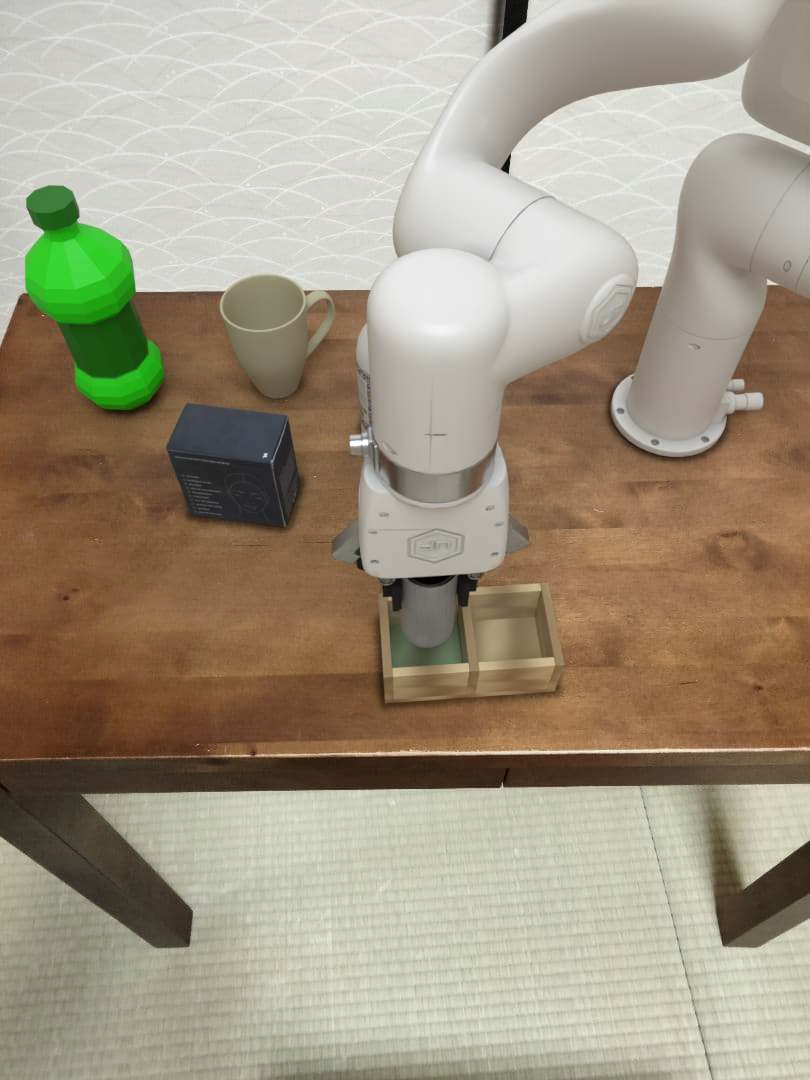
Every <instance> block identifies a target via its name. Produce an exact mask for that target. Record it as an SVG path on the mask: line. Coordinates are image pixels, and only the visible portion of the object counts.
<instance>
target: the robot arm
mask: <svg viewBox="0 0 810 1080" xmlns="http://www.w3.org/2000/svg"><path fill="white" fill-rule="evenodd" d="M747 61H748V63H747V65H746V69H745V72H744V75H743V76H744V77H743V79H742V85H741V91H740V92H741V93H740V95H741V96H740V97H741V103H742V106H743V109H744V110H745V112H746V114H747V115H748V117H750V118H752V119H753V120H754V121H756V123H758V124H760V125H762V126H763V127H765V128H767V129H769V130H771V131H773V132H775V133H777V134H780V135H782V136H784V137H787V138H789V139H791V140H793V141H796V142H798V143H800V144H803V145H806V146H808V147H810V0H558V1H555V2H554V3H553V4H551V5H549V6H548V7H546V8H545V9H543V10H541V11H540V12H538V13H537V14H536V15H534V16H533V17H531V18H530V19H529V20H527V21H526V22H524V23H523V24H522V25H520V26H519V27H518V28H516V30H514V31H513V32H511V33H510V34H508V35H507V36H506V37H505V38H504V39H502V40H501V41H499V42H498V44H496V45H495V46H494V47H492V48H491V49H490V50H489V51H488V52H486V53H485V54H484V55H483V56H482V57H481V58H480V59H479V60H478V61H477V62H476V63H475V64H474V65H473V66H472V67H471V68H470V69H469V71H468V72H467V73H466V74H465V75H464V76H463V78H462V79H461V81H460V82H458V84H457V86H456V87H455V89H454V90H453V92H452V94H451V95H450V96H449V99H448V100H447V102H446V104H445V105H444V107H443V108H442V110H441V113H440V114H439V116H438V118H437V120H436V122H435V124H434V126H433V127H432V129H431V132H430V133H429V135H428V136H427V138H426V140H425V142H424V144H423V145H422V148H421V149H420V151H419V153H418V155H417V157H416V159H415V161H414V162H413V164H412V167H411V169H410V171H409V173H408V174H407V178H406V180H405V182H404V185H403V186H402V189H401V191H400V194H399V197H398V201H397V204H396V208H395V211H394V215H393V221H392V242H393V249H394V252H395V254H396V256H397V258H396V259H394V260H392V261H391V262H390V263H389V264H387V265H386V266H385V267H384V268H383V270H381V272H380V273H379V274H378V275H377V276H376V278H375V279H374V282H373V283H372V285H371V287H370V290H369V294H368V297H367V301H366V323H367V336H368V354H369V372H370V390H371V409H372V427H368V431H363V432H362V431H361V432H360V433H353V434H349V450H350V451H349V453H350V457H358V456H359V457H362V458H363V461H362V466H361V471H360V477H359V486H358V499H357V506H358V507H357V518H355V519H354V520H353V521H352V522H351V523H350V524H348V525H347V527H346V528H344V529H343V530H342V531H341V532H340V533H338V535H336V536H335V537H334V538H333V539H332V540H331V557H332V559H334V560H336V561H340V562H344V563H345V564H349V565H353V564H355V565H356V568H357V569H359V570H361V571H363V572H365V573H366V574H368V575H369V576H372V577H375V578H377V580H378V584H379V585H381V587H382V593H383V597H392V608H393V612H394V611H399V609H402V599H401V578H410V577H428V576H443V575H457V574H459V578H458V588H457V598H458V605H459V606H460V605H461V607H468V601H469V593H470V592H474V591H476V589H477V587H478V581H479V580H480V579H482V578H484V577H485V572H488V571H489V572H490V571H492V570H494V569H496V568H498V567H499V566H500V565H502V563H503V562H504V560H505V559H506V555H507V554H508V555H511V554H514V553H516V552H519V551H521V550H523V549H525V548H528V547H529V546H530V544H531V541H530V535H529V531H528V528H527V527H526V526H525V525H524V524H522V523H521V522H520V521H519V520H517V519H516V518H515V517H514V516H513V515H511V514H510V487H509V485H510V484H509V474H508V469H507V463H506V460H505V458H504V455H503V451H502V448H501V446H500V444H499V442H498V441H499V428H500V421H501V414H502V408H503V400H504V395H505V389H506V388H507V386H508V385H509V384H511V383H513V382H515V381H517V380H519V379H520V378H523V377H525V376H527V375H529V374H531V373H533V372H535V371H538V370H541V369H543V368H545V367H547V366H549V365H552V364H554V363H557V362H558V361H561V360H563V359H565V358H567V357H570V356H572V355H574V354H575V353H577V352H580V351H582V350H583V349H584V348H587V347H588V346H589V345H591V344H594V343H597V342H598V341H600V340H602V339H603V338H604V337H606V336H607V335H608V334H610V332H611V331H612V330H613V329H614V328H615V327H616V326H617V325H618V324H619V322H620V321H621V320H622V318H623V317H624V315H625V314H626V313H627V310H628V308H629V305H630V304H631V302H632V298H633V296H634V294H635V291H636V288H637V283H638V281H639V270H640V269H639V263H638V257H637V255H636V252H635V250H634V249H633V246H632V245H631V243H630V241H628V240H627V239H626V238H625V237H624V236H623V235H622V234H621V233H619V232H618V231H617V230H616V229H614V228H613V227H611V226H609V225H607V224H605V223H604V222H602V221H600V220H599V219H596V218H595V217H593V216H590V215H588V214H586V213H585V212H583V211H581V210H578V209H576V208H574V207H573V206H570V205H568V204H566V203H565V202H562V201H560V200H558V199H557V198H555V197H554V196H553V195H551V194H549V193H547V192H545V191H543V190H541V189H539V188H537V187H535V186H533V185H531V184H529V183H528V182H525V181H523V180H521V179H519V178H517V177H515V176H514V175H511V174H509V173H508V172H505V171H503V169H502V168H503V166H504V165H505V163H506V161H507V160H508V158H509V157H510V155H511V154H512V152H513V151H514V150H515V148H516V147H517V146H518V144H519V143H520V142H521V141H522V140H523V138H524V137H525V136H526V135H527V134H528V133H529V132H530V131H531V130H532V129H533V128H535V127H536V126H537V125H538V124H539V123H541V122H542V121H543V120H545V118H548V117H549V116H550V115H552V114H553V113H555V112H557V111H558V110H560V109H562V108H564V107H566V106H569V105H571V104H573V103H576V102H578V101H579V102H580V101H582V100H584V99H588V98H591V97H593V96H594V97H595V96H598V95H603V94H607V93H612V92H620V91H627V90H632V89H633V90H634V89H640V88H647V87H656V86H657V87H658V86H666V85H667V86H668V85H676V84H685V83H696V82H702V81H708V80H709V81H710V80H714V79H718V78H720V77H723V76H727V75H729V74H731V73H734V72H735V71H736V70H738V69H739V68H740V67H742V66H743V65H744V64H745V63H746V62H747ZM675 225H676V226H675V235H674V241H673V242H674V243H673V247H672V251H671V256H670V260H669V263H668V266H667V271H666V274H665V277H664V280H663V284H662V287H661V290H660V293H659V296H658V298H657V302H656V306H655V308H654V311H653V315H652V318H651V321H650V324H649V327H648V331H647V334H646V337H645V340H644V343H643V346H642V349H641V351H640V356H639V358H638V361H637V364H636V368H635V371H634V372H633V373H632V374H630V375H628V376H626V377H625V378H624V379H622V380H621V381H620V382H619V383H618V385H617V387H616V388H615V389H614V392H613V394H612V398H611V401H610V415H611V419H612V421H613V423H614V425H615V427H616V429H617V430H618V431H619V432H620V434H621V435H622V436H623V437H624V438H625V439H627V441H629V442H630V443H631V444H633V445H634V446H636V447H638V448H640V449H642V450H644V451H646V452H648V453H651V454H655V455H658V456H661V457H662V456H663V457H669V458H684V457H692V456H695V455H699V454H701V453H704V452H706V451H707V450H709V449H710V448H712V447H713V446H714V445H716V443H717V442H718V441H719V439H720V438H721V437H722V435H723V433H724V430H725V428H726V424H727V415H733V414H734V412H735V411H743V412H746V411H747V412H748V411H760V410H762V408H763V406H764V395H763V393H762V392H744V393H740V394H739V393H738V394H735V393H736V392H743V391H744V390H745V385H746V384H745V380H744V379H743V378H737V379H735V378H734V379H733V376H734V373H735V371H736V370H737V367H738V365H739V362H740V360H741V358H742V356H743V354H744V352H745V350H746V348H747V345H748V343H749V341H750V339H751V337H752V334H753V332H754V330H755V328H756V326H757V324H758V322H759V320H760V317H761V315H762V313H763V311H764V308H765V305H766V300H767V295H768V281H770V282H772V283H775V284H776V285H779V286H780V287H783V288H785V289H786V290H789V291H791V292H792V293H794V294H797V295H799V296H801V297H803V298H805V299H807V300H810V154H808V153H806V152H804V151H801V150H799V149H797V148H794V147H792V146H789V145H787V144H784V143H782V142H779V141H778V140H774V139H771V138H768V137H766V136H761V135H757V134H753V133H745V132H744V133H743V132H742V133H740V132H739V133H730V134H726V135H722V136H720V137H718V138H716V139H714V140H712V141H711V142H710V143H709V144H707V145H706V146H704V147H703V149H702V150H701V151H700V152H699V153H698V154H697V156H695V158H694V160H693V161H692V163H691V165H690V166H689V168H688V170H687V172H686V175H685V177H684V180H683V184H682V187H681V190H680V194H679V199H678V205H677V215H676V223H675Z"/></svg>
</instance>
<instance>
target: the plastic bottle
mask: <svg viewBox="0 0 810 1080" xmlns="http://www.w3.org/2000/svg"><path fill="white" fill-rule="evenodd" d="M25 208H26V210H27V212H28V214H29V217H30V219H31V222H32V223H33V225H34V226H35V227H37V228H39V229H40V230H42V231H43V233H42V234H41V236H39V238H38V239H37V240H36V241H35V242H34V244H33V245H32V246H31V247H30V249H29V250H28V251H27V253H26V254H25V255H24V289H25V290H26V293H27V295H28V297H29V299H30V300H31V302H32V303H33V304H34V305H35V307H37V308H38V310H40V311H41V312H43V313H44V314H45V315H47V316H48V317H50V318H51V319H52V320H54V321H55V322H56V324H57V326H58V328H59V330H60V332H61V334H62V337H63V338H64V339H63V340H64V341H65V343H66V345H67V347H68V349H69V352H70V354H71V356H72V358H73V360H74V363H73V364H74V366H73V367H74V384H75V386H76V387H77V390H78V391H79V392H80V393H81V394H82V395H84V396H85V397H86V398H87V399H89V400H90V401H91V402H93V403H94V404H95V405H97V406H99V407H100V408H101V409H104V410H115V411H116V410H117V411H132V410H135V409H137V408H140V407H142V406H144V405H145V404H146V403H148V402H150V400H151V399H152V398H153V396H154V395H155V393H157V391H158V390H159V389H160V387H162V385H163V383H164V380H165V379H164V378H165V369H164V363H163V362H164V361H163V356H162V353H161V350H160V348H159V347H158V346H157V345H156V344H155V343H154V342H153V341H151V340H150V339H149V338H147V336H146V334H145V330H144V328H143V325H142V323H141V322H142V321H141V318H140V317H139V313H138V311H137V307H136V306H135V302H134V299H133V297H134V296H135V295H136V293H137V288H136V279H135V278H136V277H135V269H134V262H133V258H132V254H131V252H130V250H129V248H128V247H127V246H126V245H125V244H124V243H123V242H122V241H121V240H120V239H119V238H116V237H115V236H114V235H112V234H110V233H109V232H107V231H106V230H104V229H102V228H100V227H97V226H93V225H90V224H86V223H82V222H79V219H80V217H81V216H80V207H79V205H78V202H77V200H76V197H75V194H74V191H73V190H71V189H69V188H67V187H66V186H64V185H52V184H51V185H45V186H43V187H39V188H37V189H34V190H33V191H32V192H31V193H30V194H29V195H28V196H26V198H25Z"/></svg>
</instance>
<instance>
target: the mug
mask: <svg viewBox="0 0 810 1080" xmlns="http://www.w3.org/2000/svg"><path fill="white" fill-rule="evenodd" d="M321 300H325V302H326V314H325V317H324V319H323V320H322V323H321V324H320V326H319V327H318V328H317V330H316V331H315V333H314V334H313V336H312V337H311V338H310V339H309V331H308V313H309V310H311V309H312V307H313V306H314V305H315V304H316V303H317V302H319V301H321ZM219 311H220V315H221V317H222V320H223V321H222V322H223V324H224V327H225V329H226V333H227V336H228V339H229V342H230V344H231V347H232V350H233V352H234V355H235V357H236V359H237V361H238V363H239V364H240V366H241V368H242V370H243V371H244V372H245V373H246V375H247V376H248V378H249V379H250V381H251V382H252V383H253V385H254V386H255V387H256V389H257V390H258V392H259V393H260V394H261V395H262V396H264V397H266V398H269V399H276V400H277V399H284V398H287V397H289V396H291V395H292V394H294V393H295V392H296V391H297V389H298V388H299V386H300V381H301V377H302V374H303V370H304V367H305V363H306V359H307V358H308V357H309V356H310V355H311V354H312V353H313V352H314V350H315V349H316V348H317V347H318V346H319V345H320V343H321V342H322V341H323V339H324V338H325V337H326V335H327V334H328V333H329V331H330V329H331V327H332V326H333V324H334V320H335V316H336V309H335V303H334V301H333V298H332V297H331V295H330V294H328V292H326V291H325V290H322V289H316V290H313V291H311V292H310V293H308V294H307V295H306V293H305V290H304V289H303V287H301V285H300V284H299V283H298V282H296V281H295V280H294V279H291V278H289V277H288V276H284V275H280V274H274V273H260V274H254V275H253V274H252V275H249V276H246V277H243V278H241V279H238V280H237V281H235V282H233V283H232V284H231V285H229V287H227V288H226V290H225V291H224V293H222V296H221V298H220V300H219Z"/></svg>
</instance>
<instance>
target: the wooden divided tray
mask: <svg viewBox="0 0 810 1080" xmlns="http://www.w3.org/2000/svg"><path fill="white" fill-rule="evenodd" d="M550 588H551V587H550V583H549V582H541V583H540V582H538V583H522V584H508V585H507V584H506V585H491V586H477V589H476V591H474V592H470V593H469V601H468V607H461V605H460V606H459V605H458V598H456V608H455V618H454V626H453V631H452V633H451V635H450V637H449V638H448V640H447V641H446V642H444V643H443V644H441V645H439V646H437V647H433V648H422V647H418V646H416V645H414V644H412V643H410V642H409V641H408V640H407V639H406V638H405V636H404V634H403V632H402V629H401V614H400V609H399V611H394V612H393V608H392V597H383V592H381V593H377V600H378V612H379V614H378V616H379V631H380V646H381V647H380V649H381V662H382V663H381V664H382V665H381V666H382V679H383V693H384V703H385V704H396V703H412V702H425V701H426V702H427V701H437V700H438V701H439V700H441V701H442V700H454V699H467V698H481V697H482V698H483V697H496V696H509V695H510V696H512V695H525V694H527V695H528V694H538V693H540V694H541V693H553V692H556V689H557V686H558V684H559V681H560V679H561V675H562V673H563V670H564V668H565V659H564V655H563V649H562V644H561V643H562V642H561V639H560V634H559V629H558V623H557V618H556V614H555V608H554V603H553V602H554V601H553V599H552V593H551V589H550Z"/></svg>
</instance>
